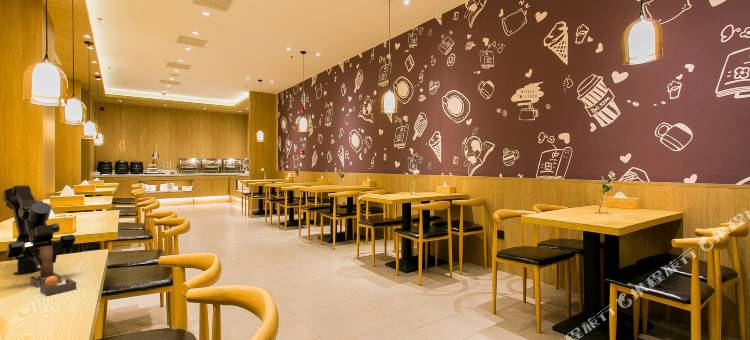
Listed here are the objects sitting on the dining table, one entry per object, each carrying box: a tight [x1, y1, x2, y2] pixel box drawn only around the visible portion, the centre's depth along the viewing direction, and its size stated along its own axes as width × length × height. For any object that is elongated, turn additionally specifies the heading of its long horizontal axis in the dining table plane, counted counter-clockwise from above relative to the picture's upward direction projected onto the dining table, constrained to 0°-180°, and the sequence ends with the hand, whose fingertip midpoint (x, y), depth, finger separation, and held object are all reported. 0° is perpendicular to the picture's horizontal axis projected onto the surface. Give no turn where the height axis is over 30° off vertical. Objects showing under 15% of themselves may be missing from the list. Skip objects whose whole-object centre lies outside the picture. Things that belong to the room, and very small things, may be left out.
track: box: [29, 271, 63, 288], centre depth 137 cm, size 8×7×2 cm
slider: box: [36, 245, 58, 285], centre depth 136 cm, size 6×4×13 cm
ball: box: [45, 276, 58, 287], centre depth 133 cm, size 4×4×4 cm
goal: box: [39, 277, 77, 297], centre depth 129 cm, size 8×8×2 cm
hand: (47, 263), depth 135 cm, fingers closed on slider, 4 cm apart
